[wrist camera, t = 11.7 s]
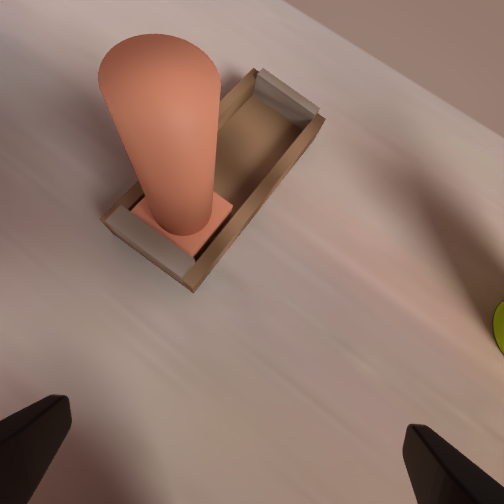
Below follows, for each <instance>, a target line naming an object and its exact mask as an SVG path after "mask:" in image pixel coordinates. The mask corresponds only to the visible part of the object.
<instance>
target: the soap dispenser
mask: <svg viewBox="0 0 504 504" xmlns="http://www.w3.org/2000/svg"><path fill="white" fill-rule="evenodd" d="M493 329H494V335H495V338H496V341H497V344H498V346H499V348H500V350H501V351H502V353H503V354H504V301H503V302H502V303H500V305H499V306H498V307H497V309H496V311H495V314H494V319H493Z"/></svg>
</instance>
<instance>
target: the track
mask: <svg viewBox="0 0 504 504" xmlns="http://www.w3.org/2000/svg"><path fill="white" fill-rule="evenodd" d="M319 109H320V108H319V107H317V106H316V105H315V104H313V103H312V102H310V101H309V100H307V99H306V98H305V97H303V96H302V95H300V94H299V93H298V92H296V91H295V90H293V89H292V88H291V87H289V86H288V85H286V84H285V83H283V82H282V81H281V80H279V79H278V78H276V77H275V76H274V75H272V74H271V73H269V72H268V71H267V70H265V69H264V68H263V69H262V70H261V71H260V72H259V71H257V70H256V69H254V68H253V69H252V70H251V71H250V72H249V73H248V74H247V75H246V76H245V77H244V78H243V79H242V80H241V81H240V82H239V83H238V84H237V85H236V86H235V87H234V88H233V89H232V90H231V91H230V92H229V93H228V94H227V95H226V96H225V97H224V98H223V99H222V100H221V101H220V104H219V118H218V131H217V145H216V159H215V173H214V187H213V191H214V192H215V193H217V194H218V195H219V196H221V197H222V198H223V199H225V200H226V201H228V202H229V203H230V204H232V205H233V208H232V212H231V216H230V217H229V219H228V220H227V221H226V222H225V223H224V225H223V226H222V227H221V228H220V230H219V231H218V232H217V233H216V234H215V236H214V237H213V238H212V239H211V241H210V242H209V243H208V244H207V245H206V247H205V248H204V249H203V250H202V252H201V253H200V254H199V255H198V256H197V258H196V259H194V258H193V257H191V256H190V255H189V254H187V253H186V252H184V251H183V250H182V249H180V248H179V247H178V246H176V245H175V244H174V243H172V242H171V241H170V240H168V239H167V238H165V237H164V236H163V235H161V234H160V233H159V232H157V231H156V230H155V229H153V228H152V227H151V226H149V225H148V224H146V223H145V222H144V221H142V220H141V219H140V218H138V217H137V216H136V215H134V214H133V213H132V212H130V211H131V210H132V209H133V208H134V207H135V206H136V205H137V204H138V203H139V202H140V201H141V200H142V199H143V198H144V197H145V194H144V192H143V189H142V187H141V185H140V182H139V181H138V182H137V183H136V184H135V185H134V186H133V187H132V188H131V189H130V190H129V191H128V192H127V193H126V194H125V195H124V196H123V197H122V198H121V199H120V200H119V201H118V202H117V203H116V204H115V205H114V206H113V207H112V208H111V209H110V210H109V211H108V212H107V213H106V214H105V215H104V216H103V217H102V218H101V219H100V220H101V221H102V222H103V223H104V224H105V225H106V227H107V228H108V229H109V230H110V231H111V232H112V233H113V234H114V235H116V236H117V237H118V238H120V239H121V240H123V241H124V242H125V243H127V244H128V245H129V246H131V247H132V248H133V249H135V250H136V251H137V252H139V253H140V254H141V255H143V256H144V257H145V258H147V259H148V260H150V261H151V262H152V263H154V264H155V265H156V266H158V267H159V268H160V269H162V270H163V271H164V272H166V273H167V274H168V275H170V276H171V277H172V278H174V279H175V280H176V281H178V282H179V283H181V284H182V285H183V286H185V287H186V288H187V289H189V290H190V291H191V292H193V293H194V292H195V291H196V289H197V288H198V287H199V286H200V284H201V283H202V282H203V280H204V279H205V278H206V277H207V275H208V274H209V273H210V272H211V270H212V269H213V268H214V266H215V265H216V264H217V263H218V261H219V260H220V259H221V258H222V256H223V255H224V254H225V252H226V251H227V250H228V249H229V247H230V246H231V245H232V243H233V242H234V241H235V240H236V238H237V237H238V236H239V235H240V233H241V232H242V231H243V229H244V228H245V227H246V226H247V224H248V223H249V222H250V221H251V219H252V218H253V217H254V215H255V214H256V213H257V212H258V210H259V209H260V208H261V206H262V205H263V204H264V203H265V201H266V200H267V199H268V198H269V196H270V195H271V194H272V192H273V191H274V190H275V189H276V187H277V186H278V185H279V184H280V182H281V181H282V180H283V178H284V177H285V176H286V175H287V173H288V172H289V171H290V169H291V168H292V167H293V166H294V164H295V163H296V162H297V161H298V159H299V158H300V157H301V155H302V154H303V153H304V152H305V150H306V149H307V148H308V147H309V145H310V144H311V143H312V141H313V140H314V139H315V137H316V135H317V133H318V132H319V130H320V128H321V126H322V125H323V123H324V121H325V118H324V117H322V116H321V115H319V114H318V111H319Z"/></svg>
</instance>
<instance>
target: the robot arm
mask: <svg viewBox="0 0 504 504" xmlns="http://www.w3.org/2000/svg"><path fill="white" fill-rule="evenodd" d="M71 423H72V417H71V410H70V402H69V398H68V397H67V396H65V395H55V394H54V395H49V396H47V397H45V398H43V399H41V400H39V401H37V402H36V403H34V404H32V405H30V406H28V407H26V408H24V409H22V410H20V411H18V412H16V413H14V414H12V415H10V416H8V417H6V418H4V419H2V420H1V421H0V504H27V503H28V501H29V500H30V498H31V496H32V495H33V493H34V491H35V490H36V488H37V486H38V485H39V483H40V481H41V479H42V478H43V476H44V474H45V472H46V471H47V469H48V467H49V465H50V464H51V462H52V460H53V458H54V456H55V455H56V453H57V451H58V449H59V448H60V446H61V444H62V442H63V440H64V439H65V437H66V435H67V433H68V432H69V430H70V427H71ZM403 459H404V462H405V465H406V469H407V472H408V475H409V478H410V481H411V484H412V487H413V490H414V493H415V496H416V500H417V503H418V504H504V487H503V486H502V485H501V484H499V483H498V482H497V481H496V480H494V479H493V478H492V477H491V476H489V475H488V474H487V473H486V472H484V471H483V470H482V469H481V468H479V467H478V466H477V465H476V464H474V463H473V462H472V461H471V460H469V459H468V458H467V457H466V456H464V455H463V454H462V453H461V452H459V451H458V450H457V449H456V448H454V447H453V446H452V445H451V444H449V443H448V442H447V441H446V440H444V439H443V438H442V437H441V436H439V435H438V434H437V433H436V432H434V431H433V430H432V429H431V428H429V427H428V426H426V425H421V424H409V425H408V427H407V430H406V435H405V439H404V444H403Z"/></svg>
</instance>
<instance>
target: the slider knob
mask: <svg viewBox="0 0 504 504" xmlns="http://www.w3.org/2000/svg"><path fill="white" fill-rule="evenodd" d="M98 81H99V87H100V90H101V93H102V95H103V98H104V100H105V102H106V105H107V107H108V109H109V112H110V114H111V116H112V119H113V121H114V123H115V126H116V128H117V131H118V133H119V135H120V138H121V140H122V142H123V145H124V147H125V149H126V152H127V154H128V156H129V159H130V161H131V163H132V166H133V168H134V171H135V173H136V175H137V178H138V180H139V182H140V185H141V187H142V189H143V192H144V194H145V197H144V198H143V199H142V200H141V201H140V202H139V203H138V204H137V205H136V206H135V207H134V208H133V209H132V210H131V211H130V212H132V213H133V214H134V215H136V216H137V217H138V218H140V219H141V220H142V221H144V222H145V223H146V224H148V225H149V226H151V227H152V228H153V229H155V230H156V231H157V232H159V233H160V234H161V235H163V236H164V237H165V238H167V239H168V240H170V241H171V242H172V243H174V244H175V245H176V246H178V247H179V248H180V249H182V250H183V251H184V252H186V253H187V254H189V255H190V256H191V257H193V258H194V259H196V258H197V256H198V255H199V254H200V253H201V252H202V250H203V249H204V248H205V247H206V245H207V244H208V243H209V242H210V241H211V239H212V238H213V237H214V236H215V234H216V233H217V232H218V231H219V230H220V228H221V227H222V226H223V225H224V223H225V222H226V221H227V220H228V219H229V217H230V216H231V212H232V208H233V205H232V204H230V203H229V202H228V201H226V200H225V199H223V198H222V197H221V196H219V195H218V194H217V193H215V192H214V191H213V187H214V173H215V159H216V145H217V131H218V118H219V104H220V90H221V82H220V76H219V73H218V71H217V68H216V66H215V65H214V63H213V61H212V60H211V59H210V58H209V57H208V56H207V55H206V54H205V53H204V52H203V51H202V50H201V49H200V48H198V47H197V46H195V45H194V44H192V43H190V42H188V41H186V40H183V39H181V38H177V37H174V36H170V35H164V34H145V35H139V36H134V37H131V38H128V39H126V40H124V41H122V42H120V43H118V44H117V45H115V46H114V47H113V48H112V49H111V50H110V51H109V52H108V53H107V54H106V55H105V57H104V58H103V60H102V62H101V65H100V68H99V72H98Z"/></svg>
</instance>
